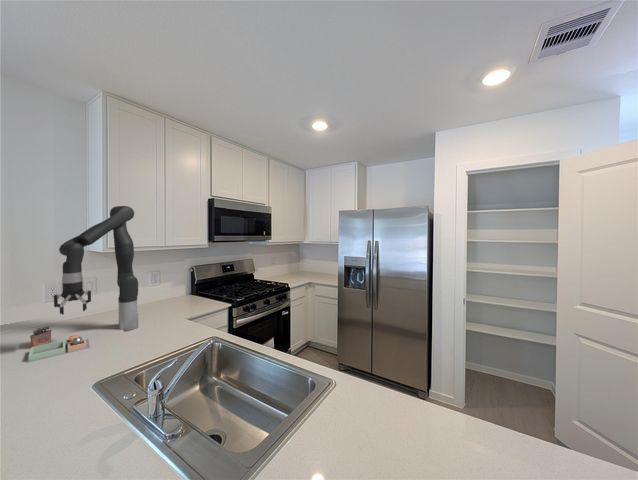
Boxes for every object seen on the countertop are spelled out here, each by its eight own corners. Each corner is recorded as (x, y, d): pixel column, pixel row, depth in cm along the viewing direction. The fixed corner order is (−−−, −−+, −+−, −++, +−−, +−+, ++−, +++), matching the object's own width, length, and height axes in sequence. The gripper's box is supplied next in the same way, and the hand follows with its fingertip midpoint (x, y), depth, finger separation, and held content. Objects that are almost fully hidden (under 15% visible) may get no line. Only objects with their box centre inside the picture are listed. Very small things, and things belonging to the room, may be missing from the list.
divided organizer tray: (88, 341, 136) (88, 334, 136) (89, 350, 126) (89, 342, 126) (29, 354, 121) (29, 346, 121) (26, 365, 111) (25, 357, 111)
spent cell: (81, 345, 128) (80, 335, 128) (81, 347, 126) (81, 337, 126) (73, 347, 126) (72, 337, 126) (73, 349, 124) (72, 338, 124)
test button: (78, 341, 132) (78, 334, 132) (79, 344, 130) (78, 336, 130) (69, 343, 130) (69, 336, 130) (69, 346, 127) (69, 338, 127)
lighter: (33, 351, 124) (33, 331, 124) (28, 350, 125) (27, 330, 124) (53, 344, 132) (53, 325, 132) (48, 343, 133) (48, 325, 132)
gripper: (91, 278, 136) (91, 307, 137) (52, 281, 126) (53, 313, 127) (91, 280, 131) (92, 311, 132) (51, 284, 121) (52, 317, 122)
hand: (73, 312), depth 129 cm, fingers open, 7 cm apart
